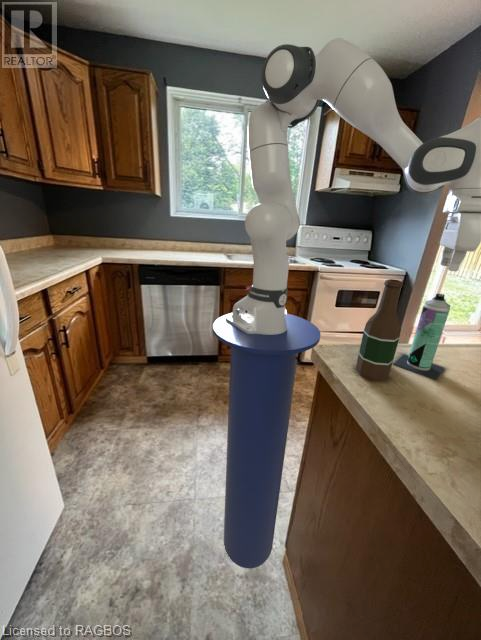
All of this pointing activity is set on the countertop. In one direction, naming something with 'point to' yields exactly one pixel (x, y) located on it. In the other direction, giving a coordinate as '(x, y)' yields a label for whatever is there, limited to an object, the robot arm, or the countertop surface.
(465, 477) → the countertop surface
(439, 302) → the spray can
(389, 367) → the beer bottle
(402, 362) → the mat
